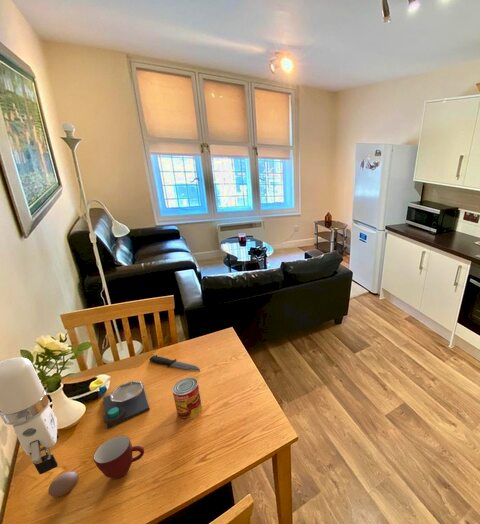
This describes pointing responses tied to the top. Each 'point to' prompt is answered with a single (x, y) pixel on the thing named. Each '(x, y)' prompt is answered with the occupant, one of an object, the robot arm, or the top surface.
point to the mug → (116, 456)
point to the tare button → (113, 412)
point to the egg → (63, 484)
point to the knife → (172, 363)
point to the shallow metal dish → (126, 392)
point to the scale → (125, 409)
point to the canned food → (187, 398)
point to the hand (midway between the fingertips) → (50, 454)
